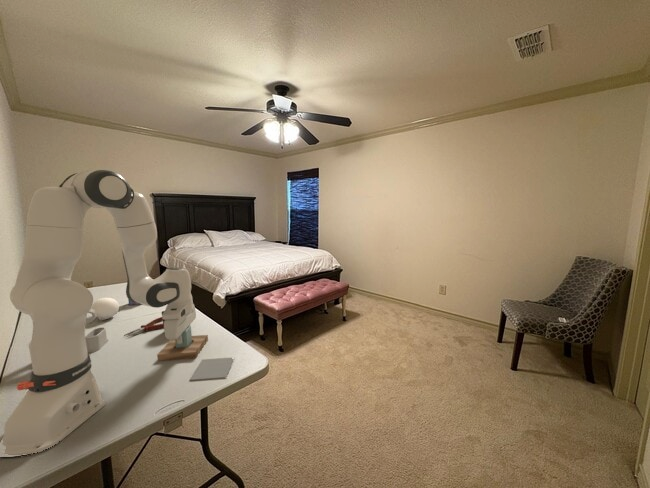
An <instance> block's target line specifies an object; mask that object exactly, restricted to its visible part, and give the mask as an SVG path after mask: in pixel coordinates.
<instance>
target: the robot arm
mask: <svg viewBox="0 0 650 488" xmlns="http://www.w3.org/2000/svg"><path fill="white" fill-rule="evenodd" d="M147 200H148V199H147V198H146V197H145V196H144V195H143V193H140V192H137V191H135V190H133V188H132V187H131V186H130V184H129V182H128V181H127V180H126V179H125V178H124V177H123V176H122V175H121V174H119V173H117V172H115V171H112V170H106V169H98V170H93V169H92V170H85V171H80V172H76V173H73V174H71V175H69V176H67V177H66V178H65V179H64V180H63V181H62V183H60V184H59V186H45V187H41V188H38V189H37V190H35V191H34V192H33V195H32V198H31V200H30V204H29V207H28V210H27V211H28V212H27V214H26V215H27V217H26V224H25V236H24V247H23V248H24V249H23V250H24V251H23V257H22V261H21V264H20V266H19V270H18V272H17V277H16V280H15V283H14V286H13V287H12V288H11V291H10V292H9V298H10V302H11V304H12V305H13V306H14V308H15V309H16V310H17V311H19V312H20V313H23V314H25V315H28V316H29V317H30V318H31V320H32V332H31V340H30V342H29V344H28V350H29V356H30V361H31V366H32V371H31V374H30V377H29V378H30V379H29V380H27V381H26V380H25V381H24V380H23V381H20V382H19V383H17V386H16V389H17V391H24V390H28V391H27V392H26V393H25V395H24V396H23V397H22V399H20V402H19V403H18V405H17V406H16V407H15V409H14V410H13V411H12V413H11V414H10V415H9V416H8V418H7V420H6V421H5V424H4V428H3V437H2V438H1V439H3V443H2V444H3V445H4V446H6V449H5V453H4V454H8V455H23V454H31V453H32V454H31V455H34V454H33V453H35V454H38V453H41V452H44V451H46V450H45V449H47V450H49V449H51V448H53V447H54V446H53V445H55V444H56V445H57V444H58V443H60V442H61V441H63V440H64V439H65V438H66V437H67V436H69V435H70V434H71V433H73V431H74V430H76V429H78V427H80V426H81V425H82V424H84V422H86V421H87V420H88V419H90V418H91V417H92V416H94V414H96V413H97V412H98V411H100V410H101V409H102V408H103V407H105V405H106V402H105V399H104V398H102V394H101V392H100V390H99V385H98V383H97V379H96V378H95V376H94V374H93V372H92V370H91V369H92V359H91V356H90V353H87V346H86V339H85V336H86V326H85V323H86V317H87V316H88V313H87V312H88V311H89V310H90V308H91V307H92V305H93V303H94V296H93V294H92V292H91V291H90V290H89V289H88V288H87V287H86V286H85V285H83V284H81V283H80V282H77V281H74V280H72V275H73V272H74V268H75V267H76V264H77V262H78V261H79V260H80V258H81V257H82V255H83V240H84V239H83V238H84V218H85V215H86V213H87V212H88V210H89V209H91V208H93V209H102V208H103V209H106V210H107V211H108V212H109V213H110V214H111V216H112V217H113V218H112V219H113V220H114V225H115V228H116V230H117V231H116V232H117V235H118V238H119V241H120V242H119V243H120V244H121V245H120V246H121V253H122V258H123V263H124V268H125V272H126V273H125V274H126V277H127V283H126V288H125V295H126V297H127V300H128V299H129V300H130V301H131V302H133V303H137V304H136V305H138V304H139V305H144V306H147V307H151V308H161V307H165V306H166V307H165V310H163V311H164V313H163V314H162V313H161V317H162V319H163V320H165V321H164V328H163V331H165V332H164V336H165V338H166V340H169V341H171V340H174V339H177V343H178V344H181V343H182V342H183V338H182V336H181V335H182V333H183V332H184V330H185V329H186V328H187V327H188V326H191V324H192V323H193V322H194V321H195V320H196V318H197V311H196V307H195V304H194V302H193V295H192V293H191V291H192V281H191V280H192V279H191V275H190V272H189V270H188V269H187V268H185V267H177V266H173V267H167V268H166V269H165V271H164V272H163V273H162V274H161V275H159V276H157V277H156V278H154V279H153V278H152V277H151V276H149V274H148V270H147V262H146V259H145V254H146V251H147V250H149V248H151V247H153V245H155V243H156V241H157V239H158V231H157V230H158V229H157V224H156V222H155V218H154V213H153V212H152V209H151V207H150V204H149V202H148V201H147ZM59 441H60V442H59ZM56 445H55V446H56ZM52 446H53V447H52ZM50 447H51V448H50ZM48 448H49V449H48ZM43 450H44V451H43ZM37 452H38V453H37Z"/></svg>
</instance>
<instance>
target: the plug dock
mask: <svg viewBox="0 0 650 488" xmlns="http://www.w3.org/2000/svg"><path fill="white" fill-rule="evenodd" d="M206 342H207V343H208V342H209V335H208V334H202V335H200V334H199V335H192V344H191V345H190V346H189V347H186V348H176V343H175V339H174V340H169V342H168V343H166V345H164V347H163V348H162V349H161V350H160V351H159V352H158V353H157V354H156V356H157V361H159V362H160V361H172V360H173V361H174V360H187V359H186V358H190V359H196V358H197V357H198V356H199V355H198V354H200V353H201V352H202V350H203V349H202V348H204V347H205V346H206V344H207V343H206ZM204 345H205V346H204ZM200 351H201V352H200Z"/></svg>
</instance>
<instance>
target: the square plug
mask: <svg viewBox="0 0 650 488" xmlns="http://www.w3.org/2000/svg"><path fill="white" fill-rule="evenodd" d="M192 334H193V333H192V326H191V325H190V326H188V327H187V328H186V329H185V330H184V332H183V333H182V335H181V336H182V338H183V342H182V343H181V344H178V343H177V339H175V343H176V348H186V347H189V346H190V345H191V344H192V336H193V335H192Z"/></svg>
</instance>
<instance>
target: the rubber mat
mask: <svg viewBox="0 0 650 488" xmlns="http://www.w3.org/2000/svg"><path fill="white" fill-rule="evenodd" d="M232 363H234V361H233V359H232V357H222V358H221V357H220V358H205V359H201V361H200V363H199V364H198V366H197V367H196V369H195V370H194V372H193V373H192V375H191V377H190V378H189V381H190V382H192V381H202V380H203V381H205V380H216V379H217V380H219V379H218V378H220V379H226V378H225V377H227V378H228V376H227V375H229V373H230V371H229V370H231V369H232V366H233V364H232ZM231 365H232V366H231ZM228 372H229V373H228Z"/></svg>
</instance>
